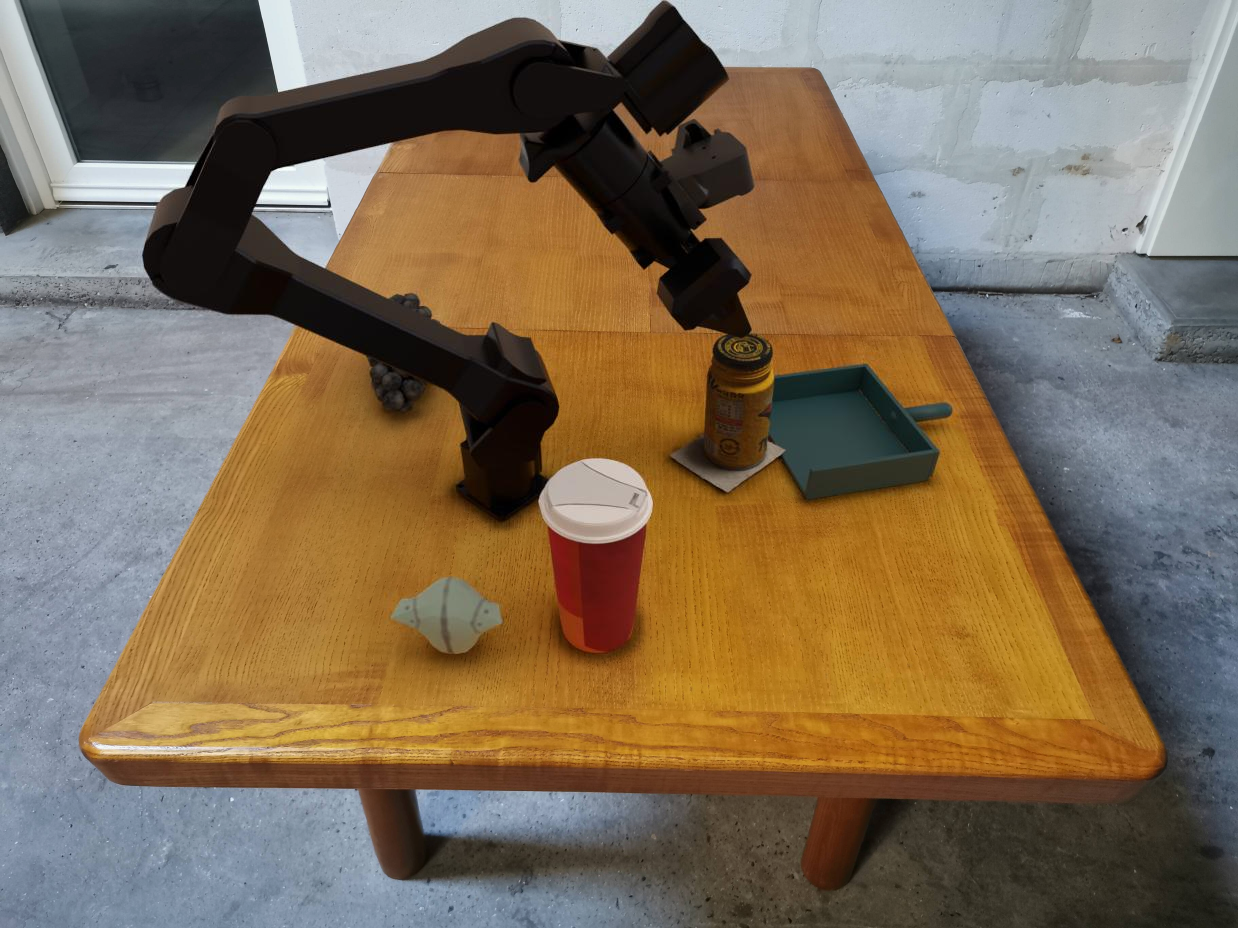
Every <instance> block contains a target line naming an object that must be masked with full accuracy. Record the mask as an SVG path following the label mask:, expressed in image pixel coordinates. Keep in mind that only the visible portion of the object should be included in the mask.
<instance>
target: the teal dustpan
mask: <svg viewBox="0 0 1238 928" xmlns="http://www.w3.org/2000/svg"><path fill="white" fill-rule="evenodd" d="M953 411H954V409H953V405H951V404H950V403H948V402H944V401H943V402H935V403H930V404H929V403H928V404H922V405H921V404H920V405H914V406H907V407H904V406H903V405H902V404H901V403H900V402H899V400H898V399H897V398H896V396H895V395H894V394H893V393H892V392H891V391H890V389H889V388H888V387H887V386H886V384H885V383H884V382H883V381H882V380H881V379H880V377H879V376H878V375H877V374H876V373H875V371H874V370H873V369H872V368H871V366H870V365H869V364H868V363H866V362H865V363H860V364H852V365H846V366H845V365H844V366H836V367H829V368H822V369H821V368H820V369H814V370H806V371H797V372H790V373H789V372H788V373H783V374H774V387H773V397H772V406H771V415H770V426H769V435H768V439H769V441H770V442H771V443H773V444H775V445H777V446H779V447H781V448H782V449H784V450H785V451H784V452H783V453H782V454H781V455H780V458H781V460H782V462H783V463H784V465H785V466H786V468H787V470H788V472H789V473H790V475H791V476H792V478H793V480H794V481H795V483H796V485H797V486H798V488H799V489H800V491H801V493H802V494H803V496H804V498H805V499H806V500H807V501H808V500H815V499H821V498H827V497H832V496H839V495H840V496H841V495H846V494H851V493H858V492H864V491H871V490H877V489H885V488H890V487H896V486H902V485H909V484H914V483H915V484H916V483H921V482H927V480H928V478H932V477H934V476H933V475H934V473H935V469H936V467H937V463H938V460H939V457H940V453H941V451H940V450H939V449H938V447H937V446H936V445H935V444H934V443H933V441H932V440H931V438H930V437H928V435H927V434H926V433H925V432H924V431H923V429H922V428H921V427H920V426H919V424H918V423H922V422H930V421H936V420H944V419H948V418H950V417H951V416H952V414H953Z"/></svg>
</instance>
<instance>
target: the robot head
mask: <svg viewBox="0 0 1238 928" xmlns="http://www.w3.org/2000/svg"><path fill="white" fill-rule="evenodd" d="M500 610H501V609H500V605H499V603H497V602H493V601H490V600H487V599H486V598H485V597H483V595H481V593H479V592H478V591H477V590H476V589H475V588H474V587H472V586H471V584H469V583H468V582H467V581H466V580H465V579H463V578H460V577H453V576H447V577H441V578H439V579H437V580H436V581H434V582H433V583H432V584H430V585H429V586H427V588H425V589H424V590H422V591H421V592H420V593H419V594H417V595H416V596H412V597H406V598H401V599H400V600H399V602H398V604H397V605H396V607H395V609H394V610H393V612H392V614H391V616H390V619H392V620H393V621H397V622H399V623H402V624H403V625H406V626H408V627H411V628H413V629H415V630H416V631H417V632H419V633H421V635H423V636H424V638H426V639H427V641H428V642H429V643H430V644H431V646H432V647H433V648H434V649H436V650H438V651H439V652H440V653H445V654H451V655H458V654H464V653H465V654H466V653H467V652H469V651H470V650H471V649H472V648H473V647H474V646H475V645H476V644H477V642H478V640H479V637H481V636H482V635H483V634H485V632H487V631H489V630H491V629H493V628H496V627H498V626H499V625H502V624H503V620H502V615H501V611H500Z"/></svg>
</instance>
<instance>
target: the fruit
mask: <svg viewBox="0 0 1238 928" xmlns="http://www.w3.org/2000/svg"><path fill="white" fill-rule="evenodd" d="M388 299H390V300H392V301H394V302H396V303H398V304H400V305H402V306H405V307H407V308H409V309H411V310H413V311H415V312H417V313H419V314H421V315H423V316H425V317H428V318H430V319H432V320H434V321H436V322H438V323H440V324H442V323H441V321H439V320H438V319H435V318H432V317H433V312H432V310H431V309H430V307H428V306H426V305H421V299H420V298H419V295H418V294H416V293H413V292H409V293H405V294H404V295H402V294H398V293H395V294H394V295H392V296H390V297H388ZM365 357H366V358H367V362H368V364H369V366H370V370H369V376H370V379H371V389H372V390H373V391H374V395H375V397H376V399H377V400H378V401H379V402H382V406H383V407H384V409H385V410H386V411H388V412H391V413H394V412H397V414H406V413H408V412H410V411H411V410H412V409H413V406H414V405H413V401H415V400H417V399H419V398H421V396H422V394H423V393H424V392H425V389H426V387H425V385H427V384H428V382H425V381H423V380H421V379H418V378H416V377H414V376H411V375H409V374H407V373H405V372H402V371H400V370H398V369H395V368H393V367H391V366H388V365H386V364H384V363H381V362H379V361H377V360H375V359H372V358H370V357H368V356H365Z"/></svg>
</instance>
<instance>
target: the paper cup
mask: <svg viewBox="0 0 1238 928" xmlns="http://www.w3.org/2000/svg"><path fill="white" fill-rule="evenodd" d="M653 503H654V502H653V497H652V495H651V492H650V490H649V489H648V487H647V485H646V482H645V480H644V479H643V477H642V476H641V475H640V473H639V472H637V470H635V469H634V468H633V467H631V466H629V465H627V464H626V463H623V462H621V461H617V460H614V459H608V458H600V457H599V458H597V457H596V458H595V457H594V458H585V459H580V460H577V461H575V462H572V463H570V464H567V465H566V466H563V467H562V468H561V469H559V470H558V471H557V472H555V474H554V475H553V476H551V477H550V478H549V481H548V482H547V484H546V486H545V488H544V489H543V491H542V493H541V495H540V497H539V498H538V505H539V509H540V514H541V517H542V518H543V520H544V523H546V528H547V535H548V541H549V548H550V556H551V564H552V570H553V572H552V573H553V580H554V585H555V593H556V599H557V600H556V601H557V606H558V613H559V619H560V624H561V625H560V626H561V629H562V633H563V635H564V638H565V639H566V641H568V643H569V644H571V645H572V646H573V647H574V648H576V649H578V650H580V651H582V652H586V653H592V654H604V653H609V652H612V651H615V650H617V649H619V648H621V647H623V645H624V644H625V643H626V642H627V641H629V639H630V637H631V635H632V633H633V629H634V625H635V619H636V613H637V607H638V606H637V605H638V598H639V589H640V580H641V573H642V572H641V571H642V566H643V557H644V551H645V545H646V536H647V526H648V522H649V520H650V518H651V515H652V512H653V505H654V504H653Z"/></svg>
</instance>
